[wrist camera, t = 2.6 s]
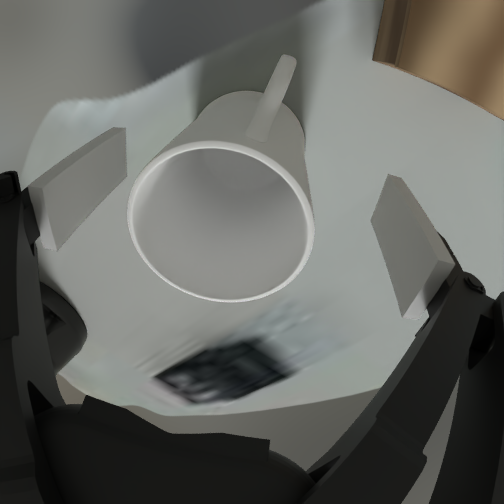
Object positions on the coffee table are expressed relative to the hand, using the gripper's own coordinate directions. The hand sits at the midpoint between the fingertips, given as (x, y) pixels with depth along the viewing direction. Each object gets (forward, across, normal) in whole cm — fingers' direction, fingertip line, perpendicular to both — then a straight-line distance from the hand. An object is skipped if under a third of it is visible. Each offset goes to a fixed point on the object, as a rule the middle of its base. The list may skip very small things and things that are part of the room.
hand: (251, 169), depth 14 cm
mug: (+9, 0, 0) cm, 9 cm away
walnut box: (+9, +12, +13) cm, 20 cm away
